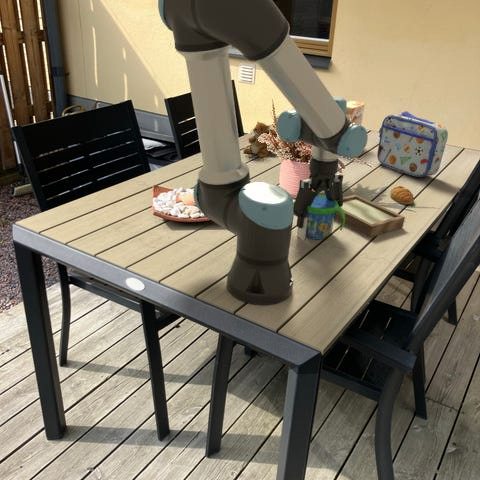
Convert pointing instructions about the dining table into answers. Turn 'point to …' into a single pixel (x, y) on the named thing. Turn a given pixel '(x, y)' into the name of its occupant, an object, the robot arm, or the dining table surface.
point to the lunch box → (411, 144)
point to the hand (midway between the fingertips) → (314, 233)
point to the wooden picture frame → (368, 216)
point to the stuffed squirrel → (255, 144)
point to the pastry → (402, 195)
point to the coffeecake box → (355, 111)
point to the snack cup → (321, 217)
